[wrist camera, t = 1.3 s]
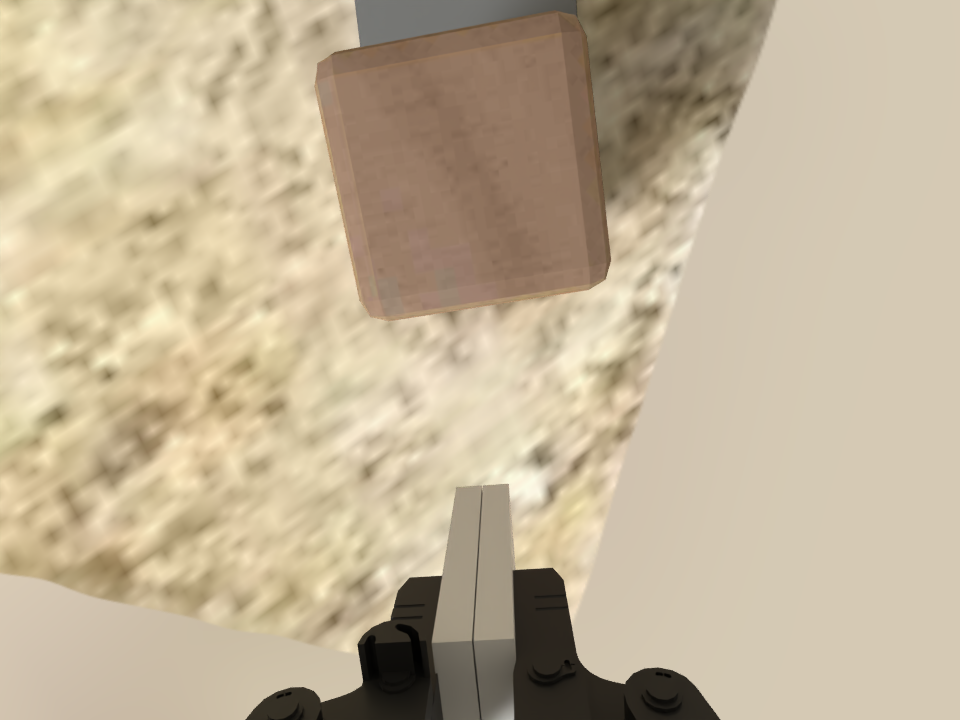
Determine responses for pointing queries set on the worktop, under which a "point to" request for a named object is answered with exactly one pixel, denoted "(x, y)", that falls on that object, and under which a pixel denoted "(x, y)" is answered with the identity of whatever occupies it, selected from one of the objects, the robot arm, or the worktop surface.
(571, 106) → the wooden block
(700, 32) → the worktop surface
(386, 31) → the mat
